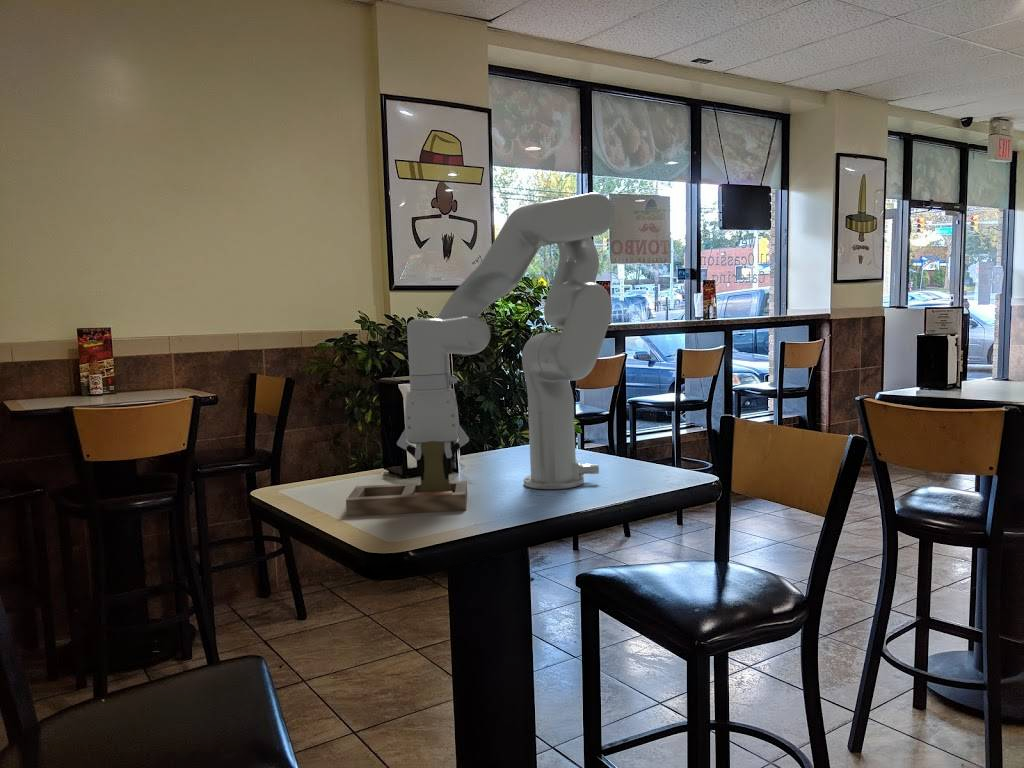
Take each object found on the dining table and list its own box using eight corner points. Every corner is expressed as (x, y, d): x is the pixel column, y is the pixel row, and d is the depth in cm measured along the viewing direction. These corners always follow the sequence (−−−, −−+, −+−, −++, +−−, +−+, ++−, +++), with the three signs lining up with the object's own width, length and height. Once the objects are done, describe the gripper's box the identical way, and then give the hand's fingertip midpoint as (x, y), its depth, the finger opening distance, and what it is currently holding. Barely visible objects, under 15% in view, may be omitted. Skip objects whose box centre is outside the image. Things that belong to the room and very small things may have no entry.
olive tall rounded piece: (446, 498, 150) (443, 440, 149) (415, 497, 151) (412, 440, 150) (455, 490, 155) (452, 435, 154) (425, 490, 157) (422, 435, 156)
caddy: (467, 495, 159) (466, 479, 159) (466, 510, 147) (465, 492, 147) (357, 500, 159) (356, 484, 158) (346, 516, 147) (345, 498, 146)
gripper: (474, 379, 155) (478, 472, 157) (388, 383, 155) (393, 476, 156) (473, 383, 148) (478, 480, 149) (383, 387, 147) (389, 484, 149)
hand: (435, 477), depth 153 cm, fingers closed on olive tall rounded piece, 3 cm apart
